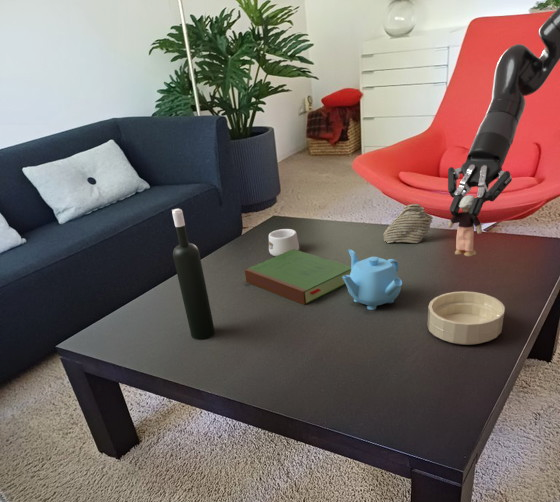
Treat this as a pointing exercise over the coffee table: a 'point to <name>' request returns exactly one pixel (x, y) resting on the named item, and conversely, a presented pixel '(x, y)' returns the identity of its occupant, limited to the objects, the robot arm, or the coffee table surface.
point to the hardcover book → (298, 276)
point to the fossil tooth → (409, 225)
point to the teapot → (373, 280)
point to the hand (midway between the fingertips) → (462, 215)
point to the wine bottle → (192, 282)
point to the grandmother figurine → (465, 227)
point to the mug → (282, 241)
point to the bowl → (465, 317)
